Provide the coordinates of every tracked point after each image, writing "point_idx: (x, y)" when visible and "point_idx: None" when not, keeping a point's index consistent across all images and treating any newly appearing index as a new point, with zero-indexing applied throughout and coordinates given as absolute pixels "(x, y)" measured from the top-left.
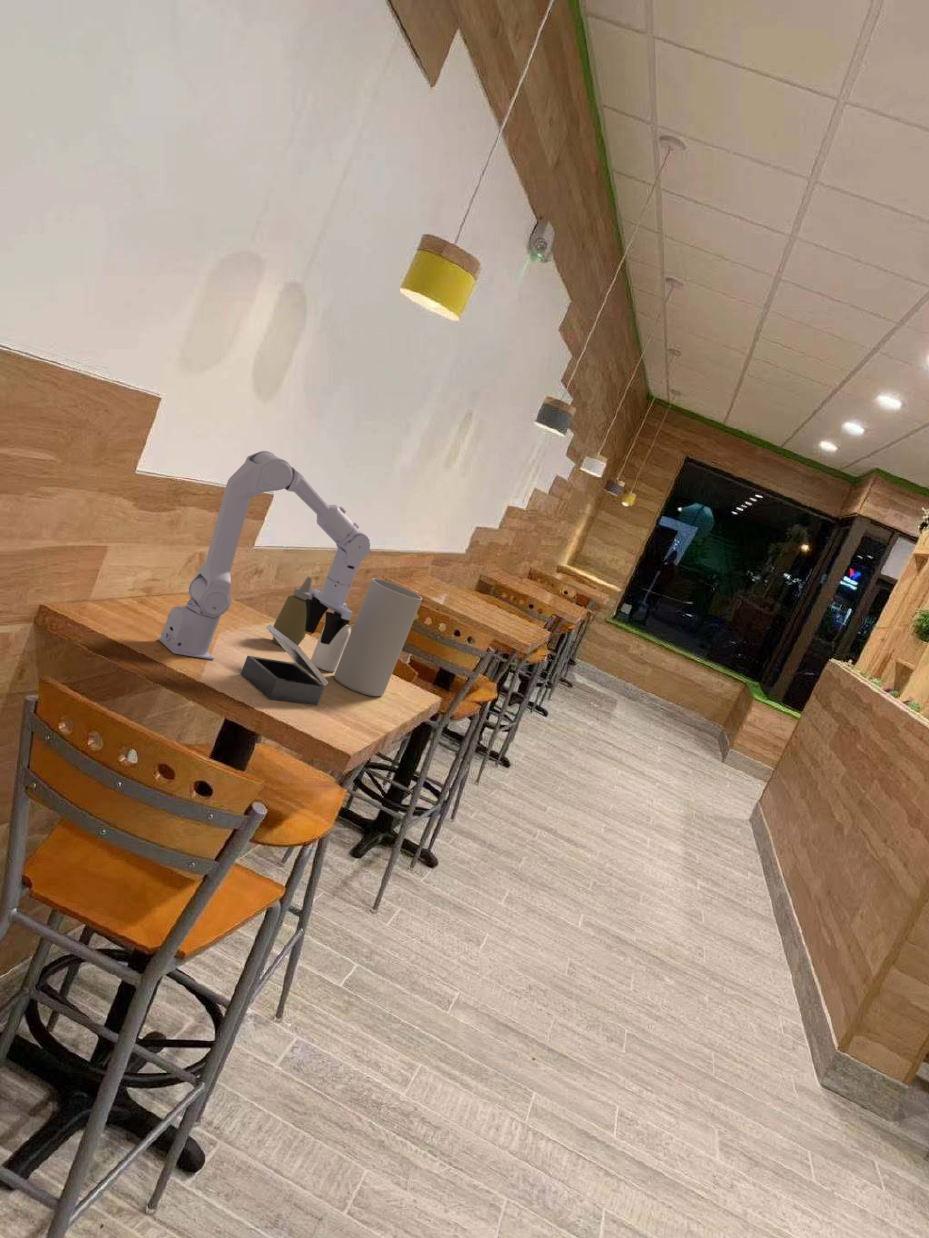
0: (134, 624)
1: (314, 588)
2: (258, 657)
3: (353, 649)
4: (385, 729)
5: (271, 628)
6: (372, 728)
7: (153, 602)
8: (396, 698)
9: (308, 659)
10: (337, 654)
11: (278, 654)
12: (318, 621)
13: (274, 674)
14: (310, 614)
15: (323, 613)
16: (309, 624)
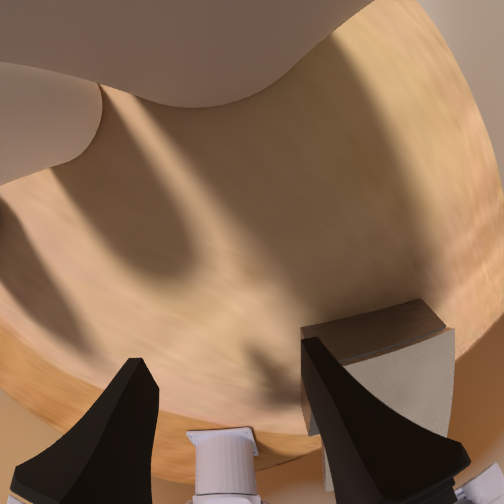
0: (163, 459)
1: None
2: (310, 425)
3: (226, 74)
4: (493, 165)
5: None
6: (491, 203)
7: (29, 404)
8: None
9: (449, 412)
10: (66, 89)
11: (61, 266)
12: (116, 413)
13: None
14: (147, 475)
15: (93, 460)
16: (150, 420)
